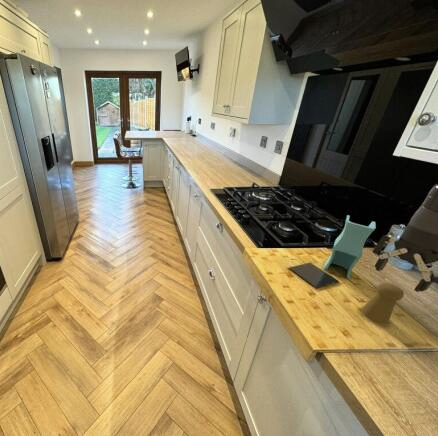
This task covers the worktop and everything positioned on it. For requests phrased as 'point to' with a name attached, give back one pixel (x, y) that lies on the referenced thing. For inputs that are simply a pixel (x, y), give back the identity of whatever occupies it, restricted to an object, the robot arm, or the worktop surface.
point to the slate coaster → (313, 275)
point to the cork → (383, 303)
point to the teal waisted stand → (350, 245)
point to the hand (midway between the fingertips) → (396, 279)
